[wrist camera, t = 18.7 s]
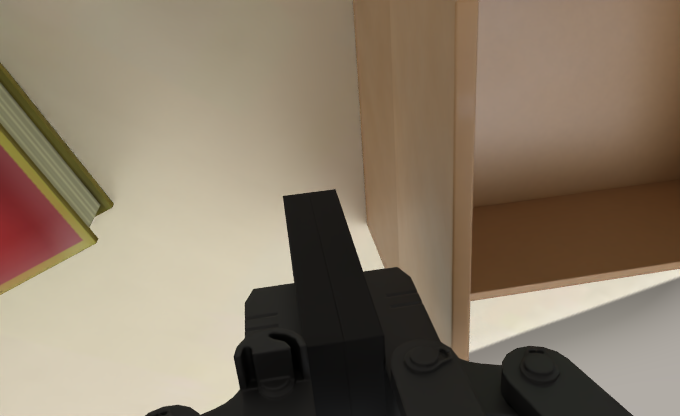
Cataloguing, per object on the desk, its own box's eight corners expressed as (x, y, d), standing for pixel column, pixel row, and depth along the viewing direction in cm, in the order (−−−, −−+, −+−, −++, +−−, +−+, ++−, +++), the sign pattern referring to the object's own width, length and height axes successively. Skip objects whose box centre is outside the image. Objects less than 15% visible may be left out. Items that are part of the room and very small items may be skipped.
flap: (410, 320, 24) (401, 321, 24) (400, -42, 18) (387, -41, 18) (464, 532, 16) (449, 534, 16) (479, -2, 10) (454, 0, 10)
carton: (366, 225, 32) (402, 311, 25) (349, -55, 26) (389, -44, 19) (691, 179, 34) (809, 249, 27) (748, -92, 27) (922, -94, 20)
